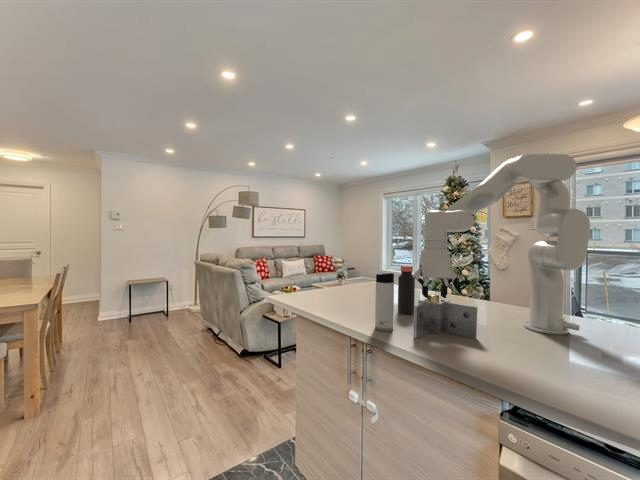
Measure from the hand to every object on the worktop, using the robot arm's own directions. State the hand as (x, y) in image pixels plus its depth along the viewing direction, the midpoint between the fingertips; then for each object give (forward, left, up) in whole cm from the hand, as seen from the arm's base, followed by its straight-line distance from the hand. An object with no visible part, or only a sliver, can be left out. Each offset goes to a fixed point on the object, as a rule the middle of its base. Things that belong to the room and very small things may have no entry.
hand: (434, 296), depth 107 cm
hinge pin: (0, 0, -12) cm, 12 cm away
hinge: (-5, +5, -12) cm, 14 cm away
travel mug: (+12, +13, -12) cm, 21 cm away
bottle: (+18, -13, -12) cm, 25 cm away
